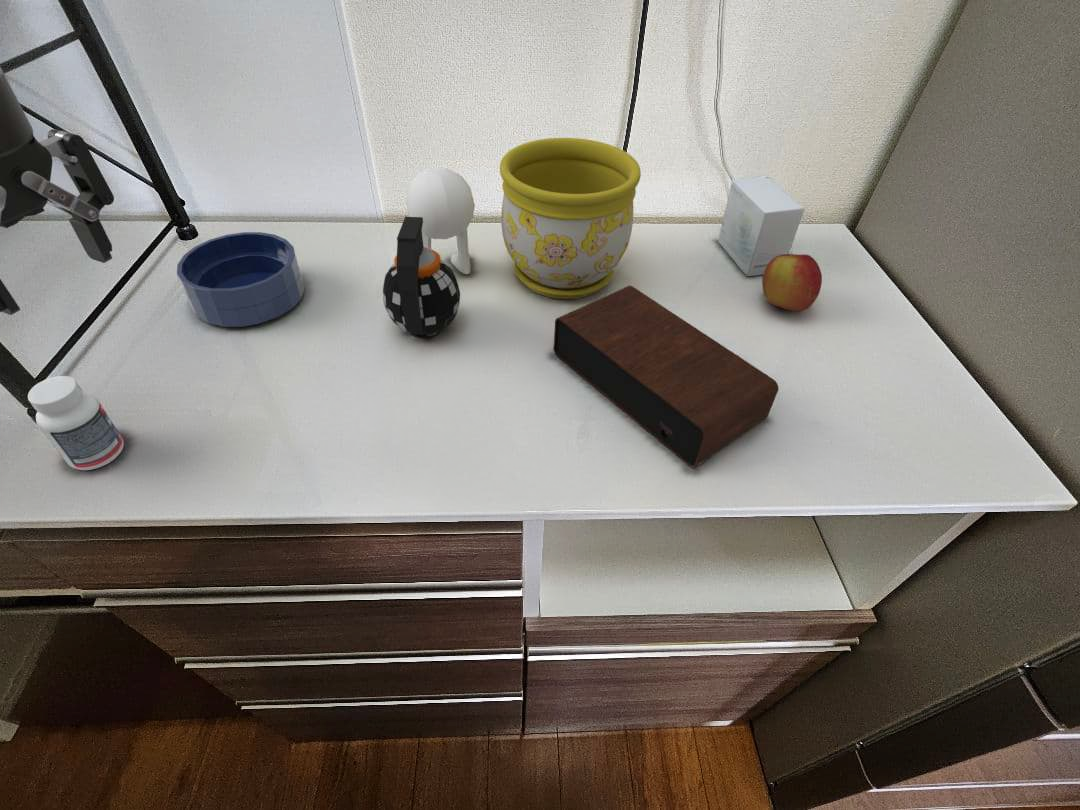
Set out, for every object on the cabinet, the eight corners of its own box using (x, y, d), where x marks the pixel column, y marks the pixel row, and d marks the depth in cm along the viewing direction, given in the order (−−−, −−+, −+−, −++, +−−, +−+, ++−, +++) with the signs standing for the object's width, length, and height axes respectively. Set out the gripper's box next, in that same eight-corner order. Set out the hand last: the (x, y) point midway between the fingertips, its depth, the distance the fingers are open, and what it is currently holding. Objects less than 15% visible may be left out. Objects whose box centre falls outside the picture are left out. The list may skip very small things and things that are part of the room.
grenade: (455, 361, 77) (445, 253, 66) (378, 357, 77) (356, 249, 66) (466, 306, 85) (459, 202, 74) (396, 304, 85) (379, 199, 74)
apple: (815, 300, 88) (836, 249, 83) (804, 330, 83) (825, 278, 78) (762, 284, 91) (778, 234, 85) (747, 313, 86) (764, 262, 80)
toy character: (467, 250, 95) (461, 152, 85) (485, 282, 89) (482, 181, 79) (408, 261, 92) (394, 161, 82) (423, 294, 87) (411, 191, 76)
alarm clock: (765, 422, 71) (780, 384, 66) (694, 470, 65) (707, 432, 61) (621, 320, 84) (627, 282, 79) (553, 353, 78) (555, 315, 74)
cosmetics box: (714, 241, 99) (730, 177, 92) (751, 237, 100) (770, 174, 93) (745, 277, 92) (765, 211, 85) (784, 273, 93) (807, 207, 86)
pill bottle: (136, 443, 66) (97, 381, 59) (92, 478, 62) (45, 416, 56) (101, 427, 67) (58, 364, 61) (55, 460, 64) (6, 397, 58)
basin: (177, 330, 79) (158, 291, 75) (213, 269, 89) (199, 231, 85) (291, 330, 80) (279, 290, 76) (314, 269, 90) (305, 232, 86)
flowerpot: (588, 234, 100) (597, 129, 88) (649, 293, 88) (669, 181, 77) (482, 257, 94) (478, 148, 82) (533, 324, 82) (536, 208, 71)
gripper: (-1, 40, 47) (98, 235, 58) (-233, 98, 38) (-60, 317, 49) (70, 55, 45) (159, 254, 56) (-156, 120, 36) (6, 343, 47)
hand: (57, 283), depth 53 cm, fingers open, 8 cm apart
